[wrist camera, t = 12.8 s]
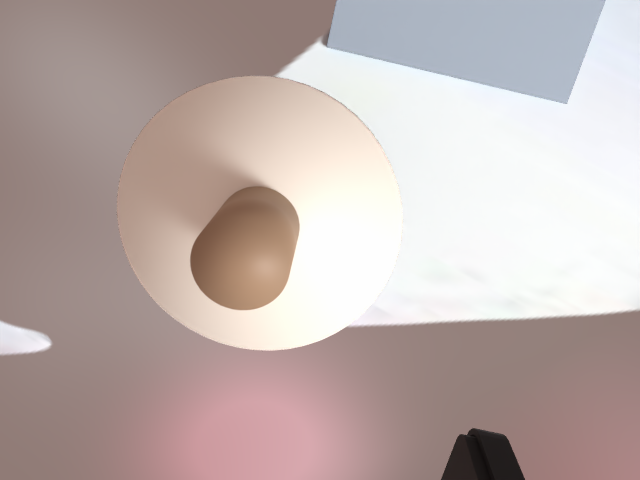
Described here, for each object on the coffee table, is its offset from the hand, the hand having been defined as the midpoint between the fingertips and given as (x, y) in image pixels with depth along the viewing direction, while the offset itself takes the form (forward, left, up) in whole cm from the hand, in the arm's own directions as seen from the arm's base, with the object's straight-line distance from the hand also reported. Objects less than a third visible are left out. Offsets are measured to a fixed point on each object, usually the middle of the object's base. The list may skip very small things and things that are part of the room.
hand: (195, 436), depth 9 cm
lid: (+1, +2, -17) cm, 17 cm away
